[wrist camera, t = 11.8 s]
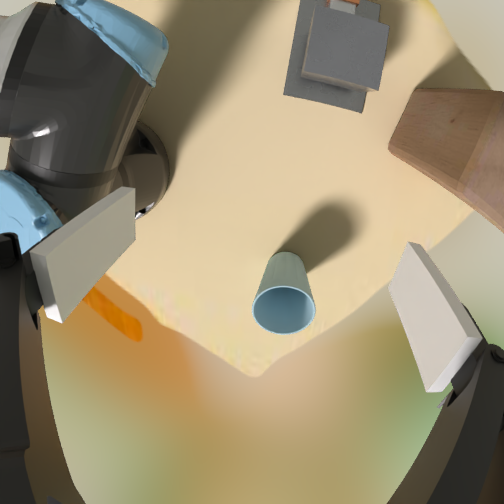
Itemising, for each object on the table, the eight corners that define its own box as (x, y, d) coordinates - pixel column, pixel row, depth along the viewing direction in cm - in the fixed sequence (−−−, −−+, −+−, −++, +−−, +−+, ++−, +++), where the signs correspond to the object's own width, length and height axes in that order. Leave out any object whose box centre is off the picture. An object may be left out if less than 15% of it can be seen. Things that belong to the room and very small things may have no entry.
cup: (270, 236, 43) (264, 277, 34) (319, 254, 44) (326, 297, 34) (252, 278, 47) (244, 323, 38) (299, 294, 47) (300, 340, 38)
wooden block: (412, 85, 30) (507, 86, 13) (466, 125, 31) (565, 159, 14) (383, 148, 35) (458, 196, 18) (438, 183, 36) (522, 249, 19)
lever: (283, 94, 34) (282, 92, 27) (306, -31, 25) (309, -55, 18) (361, 113, 33) (377, 116, 27) (381, -12, 24) (399, -30, 18)
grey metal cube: (310, 23, 26) (315, 5, 20) (369, 39, 26) (389, 25, 19) (300, 77, 30) (303, 70, 23) (360, 92, 29) (378, 90, 23)
